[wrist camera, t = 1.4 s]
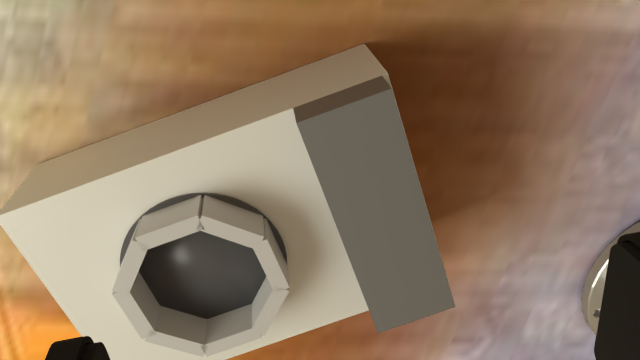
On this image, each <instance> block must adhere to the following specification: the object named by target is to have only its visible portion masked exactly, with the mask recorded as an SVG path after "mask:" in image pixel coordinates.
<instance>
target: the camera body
mask: <svg viewBox="0 0 640 360" xmlns="http://www.w3.org/2000/svg"><path fill="white" fill-rule="evenodd" d="M0 225H1V226H2V228H3V229H4V230H5V232H6V233H7V234H8V236H9V237H10V239H11V240H12V241H13V243H14V244H15V245H16V247H17V248H18V249H19V251H20V252H21V254H22V255H23V256H24V258H25V259H26V260H27V262H28V263H29V264H30V266H31V267H32V269H33V270H34V271H35V273H36V274H37V275H38V277H39V278H40V280H41V281H42V282H43V284H44V285H45V286H46V288H47V289H48V290H49V292H50V293H51V295H52V296H53V297H54V299H55V300H56V301H57V303H58V304H59V306H60V307H61V308H62V310H63V311H64V312H65V314H66V315H67V316H68V318H69V319H70V321H71V322H72V323H73V325H74V326H75V327H76V329H77V330H78V332H79V333H80V334H81V336H82V337H83V336H89V337H91V338H92V340H93V342H94V343H97V342H102V343H103V344H104V346H105V348H106V350H107V352H108V355H109V357H110V360H226V359H228V358H231V357H234V356H237V355H240V354H243V353H246V352H249V351H252V350H255V349H257V348H260V347H263V346H266V345H269V344H272V343H275V342H278V341H281V340H284V339H286V338H289V337H292V336H295V335H298V334H301V333H304V332H307V331H310V330H312V329H315V328H318V327H321V326H324V325H327V324H330V323H333V322H336V321H339V320H341V319H344V318H347V317H350V316H353V315H356V314H359V313H362V312H365V311H368V310H369V311H370V314H371V317H372V319H373V322H374V324H375V327H376V330H377V332H378V333H380V332H383V331H386V330H389V329H392V328H395V327H398V326H401V325H404V324H407V323H410V322H412V321H415V320H418V319H421V318H424V317H427V316H430V315H433V314H436V313H439V312H442V311H445V310H447V309H450V308H453V307H455V304H454V301H453V297H452V294H451V290H450V287H449V284H448V283H449V281H448V278H447V275H446V271H445V268H444V264H443V261H442V257H441V254H440V250H439V247H438V244H437V240H436V237H435V233H434V230H433V226H432V223H431V219H430V216H429V212H428V209H427V206H426V202H425V199H424V195H423V192H422V188H421V185H420V181H419V178H418V175H417V171H416V168H415V164H414V161H413V157H412V154H411V150H410V147H409V144H408V140H407V137H406V133H405V130H404V126H403V123H402V119H401V116H400V113H399V109H398V106H397V102H396V99H395V95H394V92H393V88H392V85H391V82H390V78H389V75H388V72H387V71H386V70H385V69H384V67H383V66H382V65H381V64H380V62H379V61H378V60H377V59H376V57H375V56H374V55H373V54H372V53H371V51H370V50H369V49H368V48H367V46H366V45H365V44H362V45H359V46H356V47H354V48H351V49H348V50H346V51H343V52H340V53H338V54H335V55H332V56H329V57H327V58H324V59H321V60H319V61H316V62H313V63H310V64H308V65H305V66H302V67H300V68H297V69H294V70H292V71H289V72H286V73H283V74H281V75H278V76H275V77H273V78H270V79H267V80H264V81H262V82H259V83H256V84H254V85H251V86H248V87H246V88H243V89H240V90H237V91H235V92H232V93H229V94H227V95H224V96H221V97H218V98H216V99H213V100H210V101H208V102H205V103H202V104H200V105H197V106H194V107H191V108H189V109H186V110H183V111H181V112H178V113H175V114H172V115H170V116H167V117H164V118H162V119H159V120H156V121H154V122H151V123H148V124H145V125H143V126H140V127H137V128H135V129H132V130H129V131H126V132H124V133H121V134H118V135H116V136H113V137H110V138H108V139H105V140H102V141H99V142H97V143H94V144H91V145H89V146H86V147H83V148H80V149H78V150H75V151H72V152H70V153H67V154H64V155H62V156H59V157H56V158H53V159H51V160H48V161H45V162H43V163H40V164H37V165H36V166H35V167H34V169H33V170H32V171H31V172H30V174H29V175H28V176H27V177H26V179H25V180H24V181H23V182H22V184H21V185H20V186H19V187H18V189H17V190H16V191H15V192H14V194H13V195H12V196H11V197H10V199H9V200H8V201H7V203H6V204H5V205H4V206H3V208H2V209H1V210H0Z"/></svg>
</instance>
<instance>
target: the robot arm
mask: <svg viewBox="0 0 640 360" xmlns="http://www.w3.org/2000/svg"><path fill="white" fill-rule="evenodd" d="M581 300H582V312H583V314H584V317H585V320H586V322H587V324H588V325H589V326H590V328H591V329H592V331H593V332H594V333H595V335H596V341H595V347H594V353H595V357H596V360H640V222H638V223H636V224H634V225H633V226H632V227H630V228H629V229H627V230H626V231H624V232H623V233H621V234H620V235H619V236H618V237H617V238H616V239H615V240H614V241H612V242H611V243H610V244H609V245H608V246H607V247H606V248H605V250H604V251H603V252H602V253H601V255H600V256H599V257H598V258H597V259H596V261H595V263H594V265H593V266H592V268H591V270H590V271H589V273H588V276H587V278H586V281H585V284H584V286H583V293H582V299H581ZM45 360H110V357H109V355H108V352H107V350H106V348H105V346H104V344H103V343H102V342H97V343H94V342H93V340H92V338H91V337H89V336H83V337H78V338H73V339H67V340H62V341H57V342H54V343H53V344H52V345H51V347H50V349H49V351H48V354H47V356H46V359H45Z"/></svg>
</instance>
